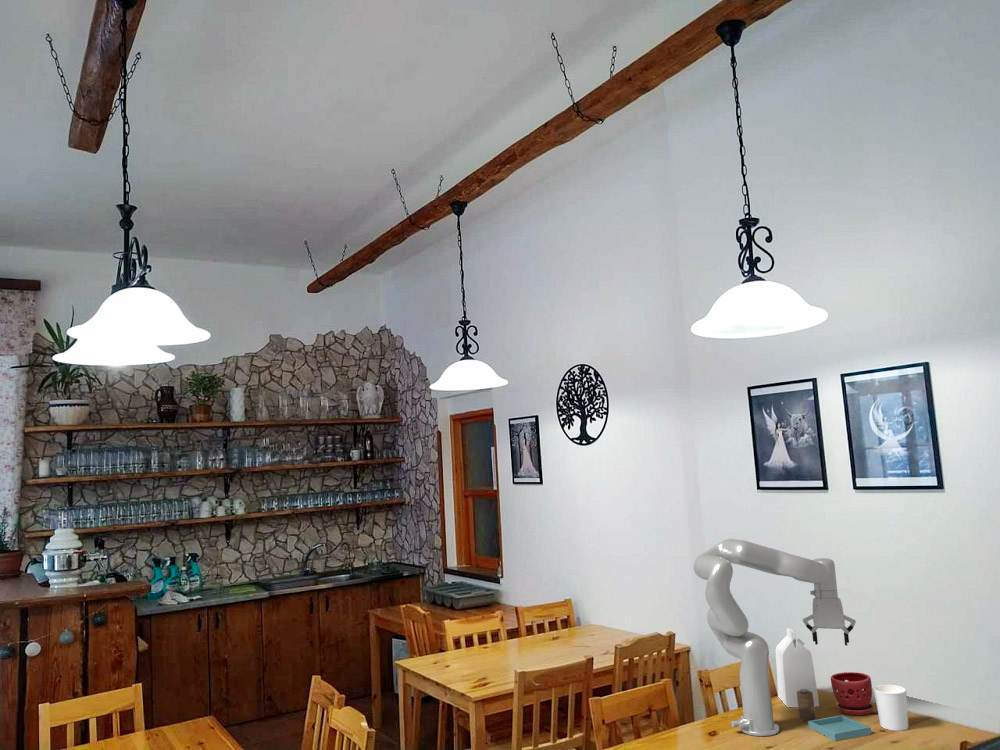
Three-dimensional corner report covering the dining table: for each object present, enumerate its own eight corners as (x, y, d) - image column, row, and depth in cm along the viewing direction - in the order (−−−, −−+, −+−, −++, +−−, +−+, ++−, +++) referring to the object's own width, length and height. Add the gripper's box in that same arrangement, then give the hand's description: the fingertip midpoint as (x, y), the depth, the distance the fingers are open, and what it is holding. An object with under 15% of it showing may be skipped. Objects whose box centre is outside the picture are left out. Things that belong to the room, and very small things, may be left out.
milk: (778, 698, 293) (770, 627, 296) (809, 696, 292) (801, 625, 295) (786, 708, 281) (778, 634, 284) (819, 706, 280) (811, 632, 283)
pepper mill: (805, 722, 265) (802, 693, 266) (796, 718, 270) (793, 689, 271) (818, 720, 266) (815, 691, 267) (809, 716, 271) (806, 687, 272)
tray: (835, 741, 247) (834, 733, 247) (808, 728, 260) (807, 721, 260) (871, 734, 250) (870, 727, 251) (843, 721, 263) (842, 715, 264)
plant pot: (866, 704, 279) (862, 670, 280) (881, 716, 266) (876, 680, 267) (829, 706, 280) (825, 671, 281) (841, 718, 267) (837, 682, 268)
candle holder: (880, 720, 263) (876, 683, 264) (913, 723, 257) (908, 686, 258) (875, 729, 255) (870, 691, 256) (908, 733, 249) (903, 694, 250)
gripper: (799, 595, 275) (804, 645, 273) (853, 596, 268) (858, 647, 266) (800, 592, 282) (805, 641, 280) (852, 593, 275) (858, 642, 273)
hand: (831, 644), depth 273 cm, fingers open, 9 cm apart
